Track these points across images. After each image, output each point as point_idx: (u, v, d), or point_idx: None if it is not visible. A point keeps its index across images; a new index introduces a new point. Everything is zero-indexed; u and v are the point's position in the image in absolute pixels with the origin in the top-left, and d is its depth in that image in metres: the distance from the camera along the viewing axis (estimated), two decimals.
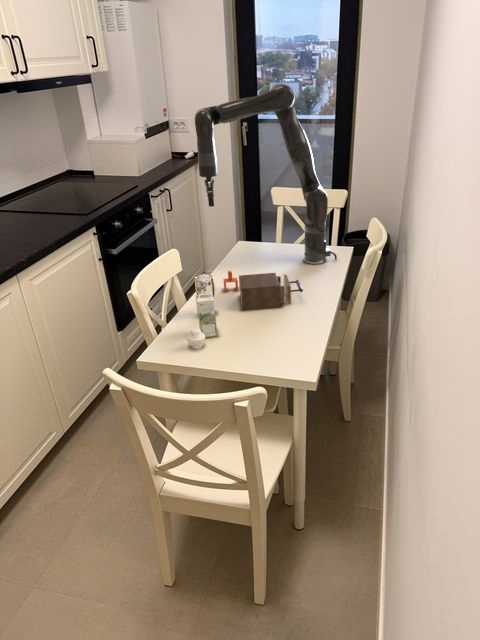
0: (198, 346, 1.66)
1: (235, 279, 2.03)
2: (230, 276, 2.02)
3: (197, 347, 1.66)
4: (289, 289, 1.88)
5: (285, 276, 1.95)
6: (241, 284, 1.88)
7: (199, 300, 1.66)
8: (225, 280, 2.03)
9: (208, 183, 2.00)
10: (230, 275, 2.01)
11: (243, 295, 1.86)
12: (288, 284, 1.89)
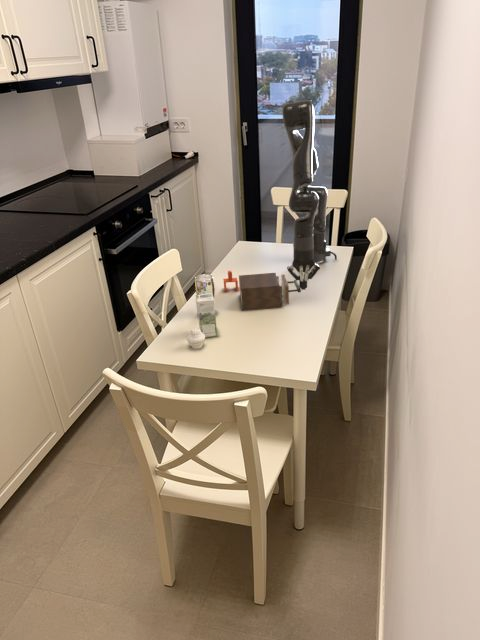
0: (198, 346, 1.66)
1: (235, 279, 2.03)
2: (230, 276, 2.02)
3: (197, 347, 1.66)
4: (287, 289, 1.88)
5: (283, 276, 1.95)
6: (241, 284, 1.88)
7: (199, 300, 1.66)
8: (225, 280, 2.03)
9: (287, 269, 1.90)
10: (230, 275, 2.01)
11: (243, 295, 1.86)
12: (286, 284, 1.89)
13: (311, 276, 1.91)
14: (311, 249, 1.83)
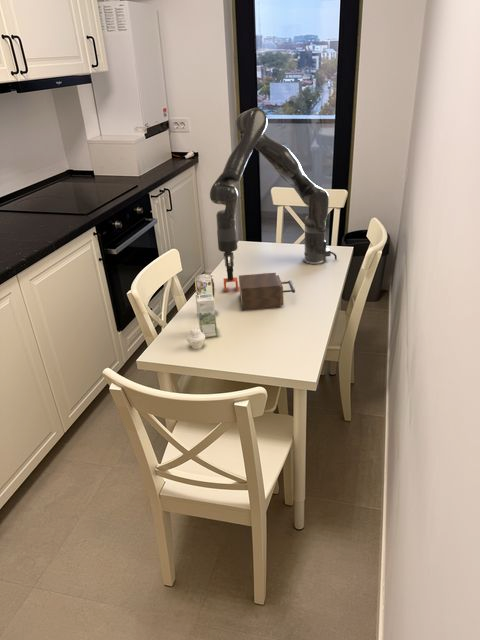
0: (198, 346, 1.66)
1: (235, 279, 2.03)
2: None
3: (197, 347, 1.66)
4: (281, 290, 1.88)
5: (277, 277, 1.95)
6: (241, 284, 1.88)
7: (199, 300, 1.66)
8: (225, 280, 2.03)
9: (228, 264, 1.93)
10: None
11: (243, 295, 1.86)
12: (280, 285, 1.88)
13: None
14: None
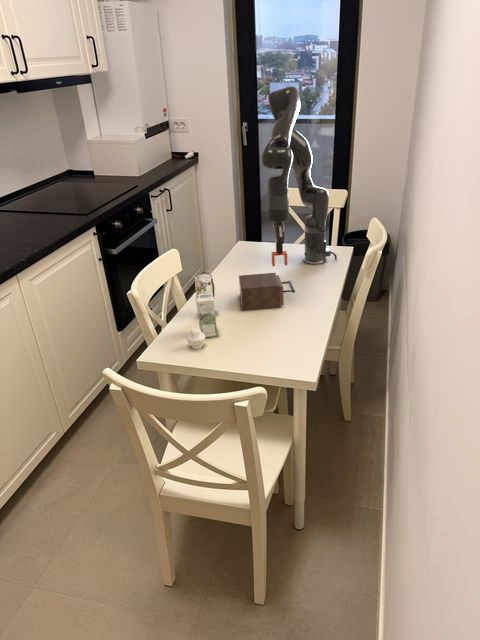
0: (198, 346, 1.66)
1: (284, 252, 1.88)
2: None
3: (197, 347, 1.66)
4: (281, 290, 1.88)
5: (277, 277, 1.95)
6: (241, 284, 1.88)
7: (199, 300, 1.66)
8: (274, 253, 1.88)
9: (279, 234, 1.78)
10: None
11: (243, 295, 1.86)
12: (280, 285, 1.88)
13: None
14: None
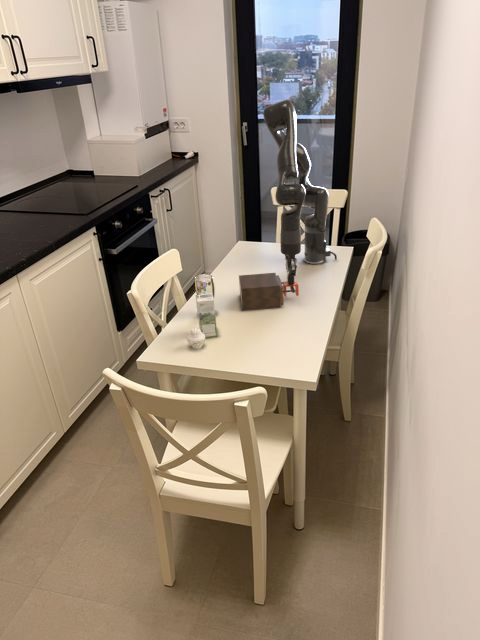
0: (198, 346, 1.66)
1: (296, 283, 1.93)
2: None
3: (197, 347, 1.66)
4: (281, 290, 1.88)
5: (277, 277, 1.95)
6: (241, 284, 1.88)
7: (199, 300, 1.66)
8: (285, 284, 1.92)
9: (292, 267, 1.83)
10: None
11: (243, 295, 1.86)
12: (280, 285, 1.88)
13: None
14: None
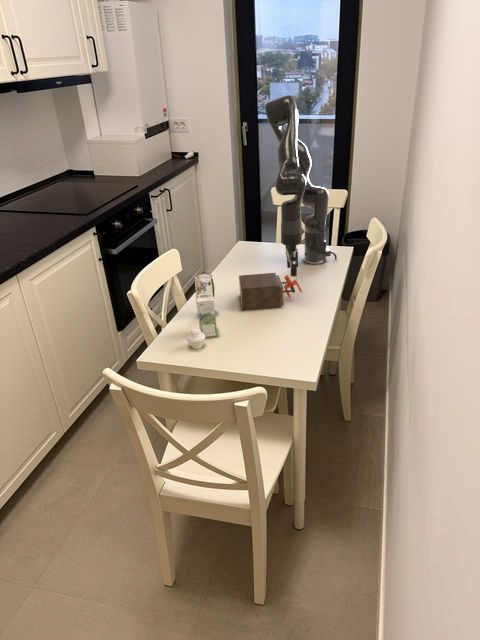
0: (198, 346, 1.66)
1: (295, 281, 1.92)
2: (288, 281, 1.91)
3: (197, 347, 1.66)
4: (281, 290, 1.88)
5: (277, 277, 1.95)
6: (241, 284, 1.88)
7: (199, 300, 1.66)
8: (285, 287, 1.93)
9: (293, 253, 1.79)
10: (288, 280, 1.91)
11: (243, 295, 1.86)
12: (280, 285, 1.88)
13: None
14: None
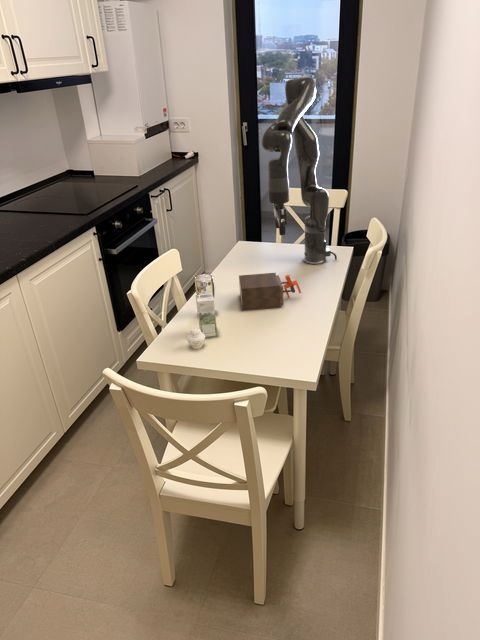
0: (198, 346, 1.66)
1: (295, 282, 1.93)
2: (289, 280, 1.91)
3: (197, 347, 1.66)
4: (281, 290, 1.88)
5: (277, 277, 1.95)
6: (241, 284, 1.88)
7: (199, 300, 1.66)
8: (285, 286, 1.93)
9: (281, 211, 1.81)
10: (289, 279, 1.91)
11: (243, 295, 1.86)
12: (280, 285, 1.88)
13: None
14: None
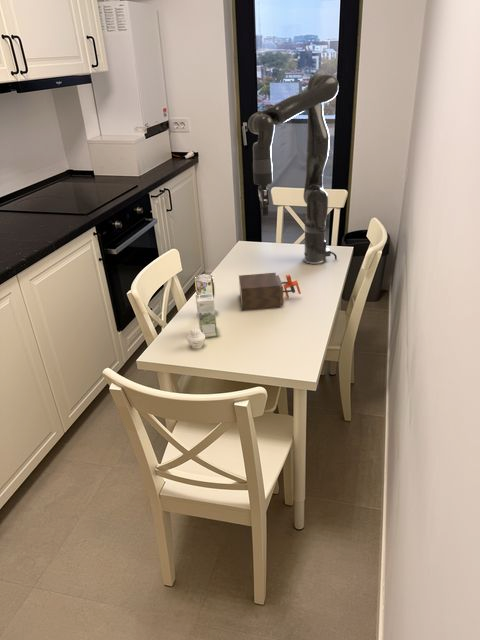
0: (198, 346, 1.66)
1: (295, 282, 1.93)
2: (289, 280, 1.91)
3: (197, 347, 1.66)
4: (281, 290, 1.88)
5: (277, 277, 1.95)
6: (241, 284, 1.88)
7: (199, 300, 1.66)
8: (285, 286, 1.93)
9: (264, 191, 1.90)
10: (289, 279, 1.91)
11: (243, 295, 1.86)
12: (280, 285, 1.88)
13: None
14: None
